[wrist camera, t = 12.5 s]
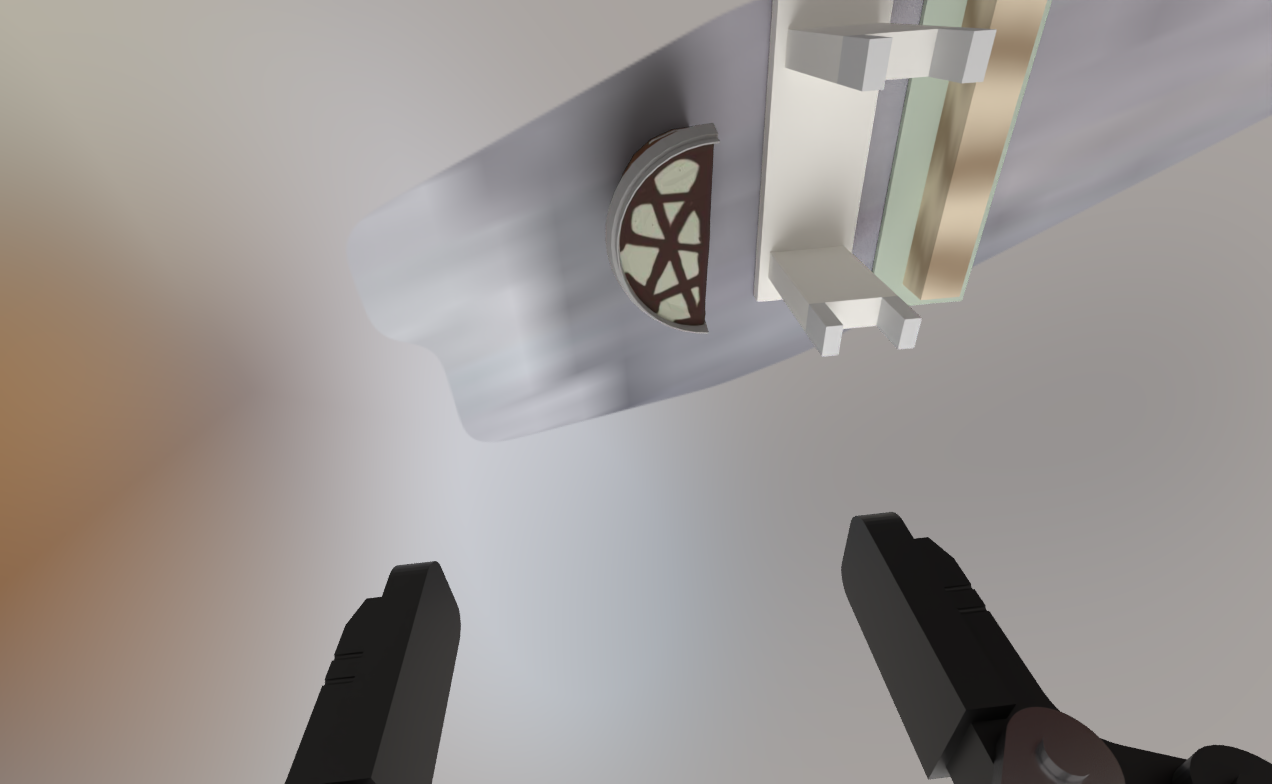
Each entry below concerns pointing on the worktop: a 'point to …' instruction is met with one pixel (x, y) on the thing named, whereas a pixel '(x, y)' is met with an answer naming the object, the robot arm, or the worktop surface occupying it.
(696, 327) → the food container
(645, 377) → the worktop surface
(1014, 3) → the rail
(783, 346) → the worktop surface
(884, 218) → the mat
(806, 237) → the rack
